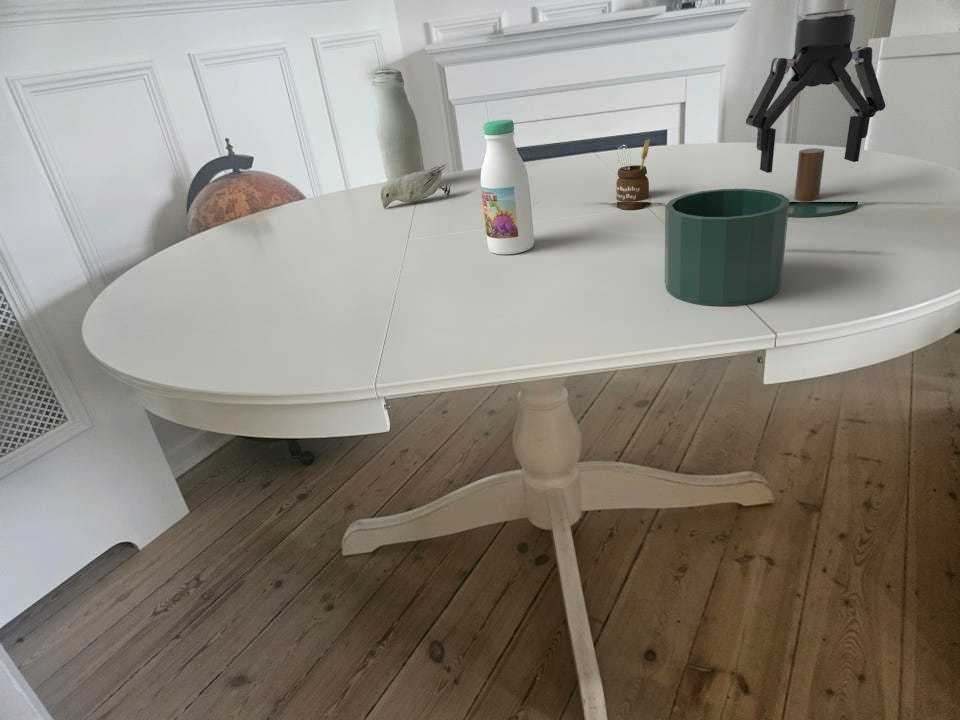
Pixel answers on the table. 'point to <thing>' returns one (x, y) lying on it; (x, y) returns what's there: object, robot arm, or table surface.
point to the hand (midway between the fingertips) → (808, 165)
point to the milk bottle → (505, 192)
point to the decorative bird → (413, 186)
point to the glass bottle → (396, 126)
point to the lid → (813, 188)
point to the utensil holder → (633, 183)
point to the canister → (725, 246)
